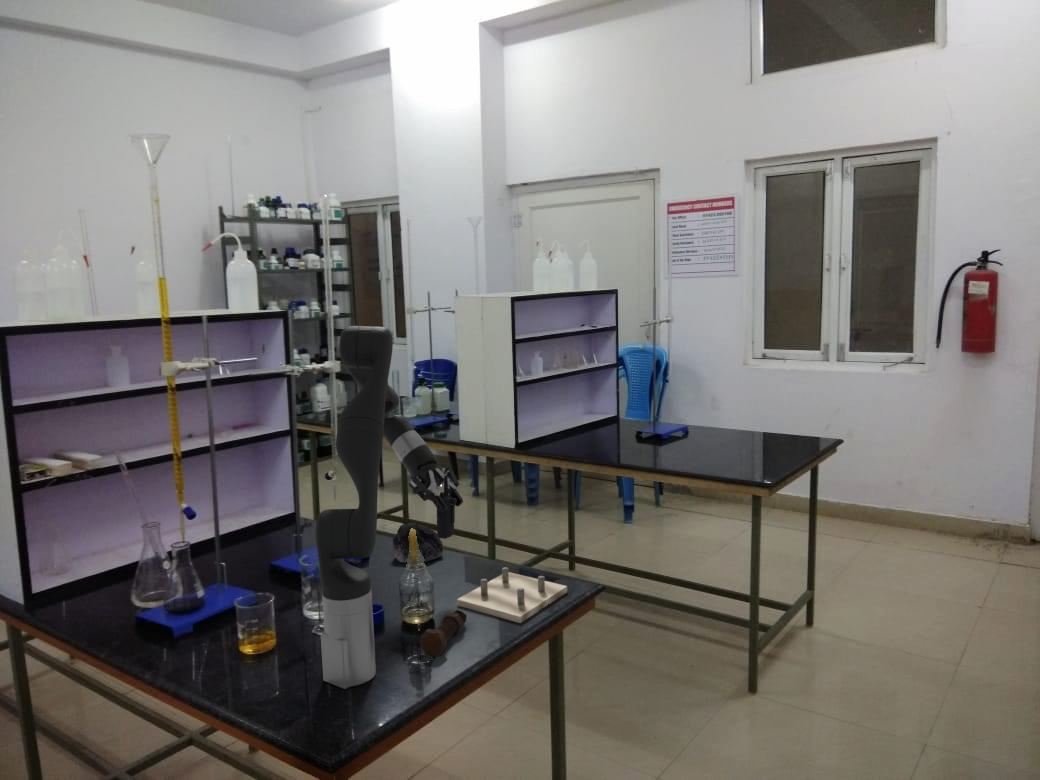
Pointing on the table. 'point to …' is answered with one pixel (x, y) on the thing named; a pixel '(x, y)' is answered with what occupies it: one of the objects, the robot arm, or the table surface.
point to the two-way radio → (446, 514)
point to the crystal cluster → (426, 540)
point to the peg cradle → (512, 596)
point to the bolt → (442, 633)
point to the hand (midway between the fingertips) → (452, 507)
